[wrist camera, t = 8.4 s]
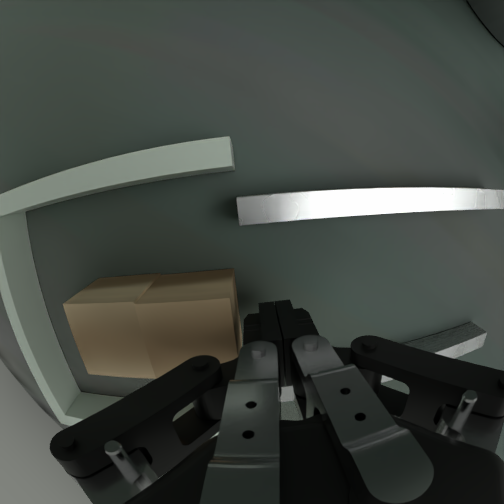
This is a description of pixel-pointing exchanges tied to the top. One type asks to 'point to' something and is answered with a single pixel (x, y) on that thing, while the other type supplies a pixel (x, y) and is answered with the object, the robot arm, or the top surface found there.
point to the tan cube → (190, 318)
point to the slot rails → (377, 202)
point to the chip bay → (24, 272)
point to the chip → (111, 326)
